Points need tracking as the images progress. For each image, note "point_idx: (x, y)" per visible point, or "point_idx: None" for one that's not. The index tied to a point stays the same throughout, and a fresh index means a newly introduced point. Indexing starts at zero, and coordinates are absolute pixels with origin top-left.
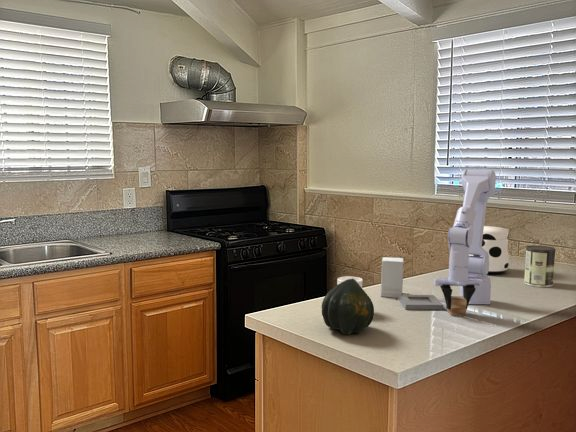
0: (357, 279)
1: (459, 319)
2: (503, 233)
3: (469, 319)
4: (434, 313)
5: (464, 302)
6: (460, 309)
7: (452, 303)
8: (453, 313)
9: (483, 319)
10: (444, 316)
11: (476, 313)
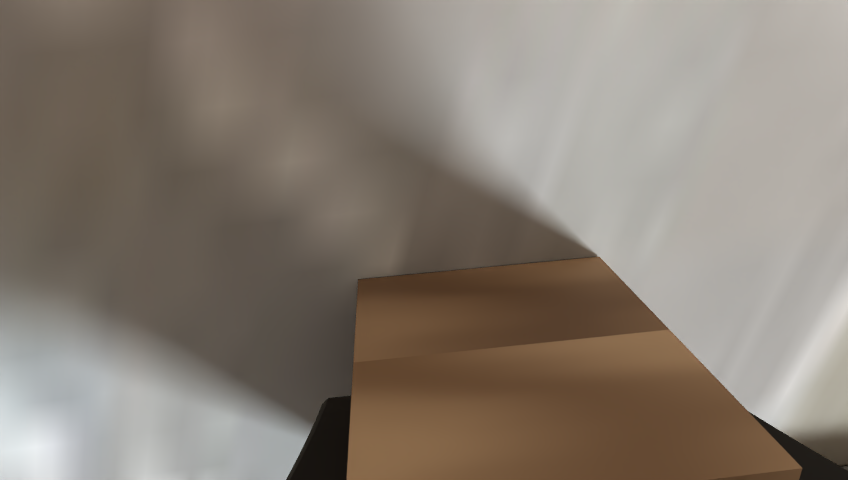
0: None
1: (527, 60)
2: None
3: (335, 79)
4: (799, 339)
5: (408, 453)
6: (473, 331)
7: (716, 395)
8: (580, 277)
9: (54, 106)
10: (720, 212)
11: (161, 421)
